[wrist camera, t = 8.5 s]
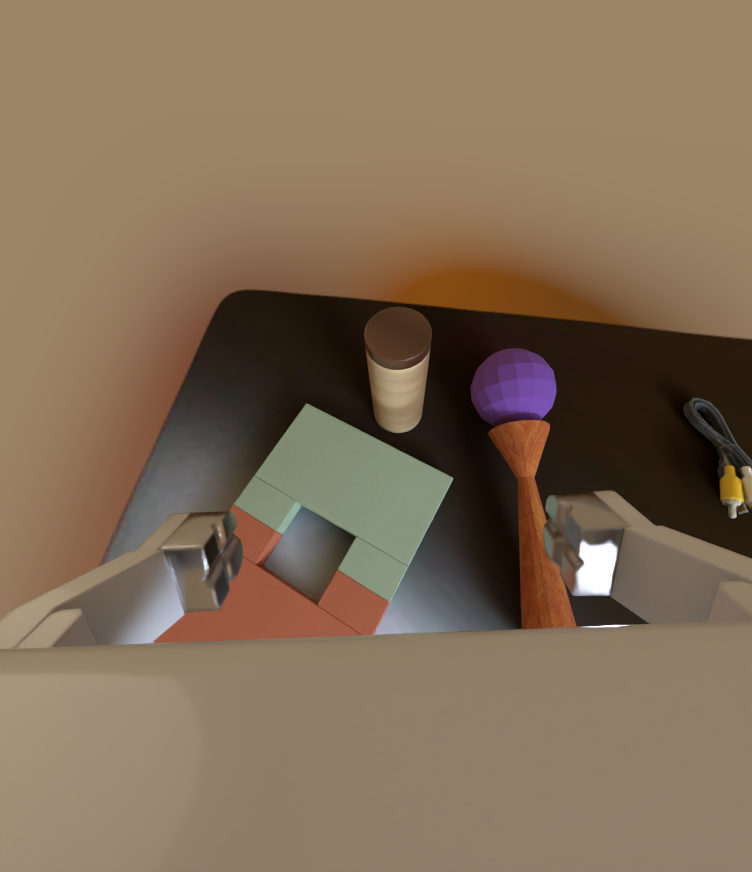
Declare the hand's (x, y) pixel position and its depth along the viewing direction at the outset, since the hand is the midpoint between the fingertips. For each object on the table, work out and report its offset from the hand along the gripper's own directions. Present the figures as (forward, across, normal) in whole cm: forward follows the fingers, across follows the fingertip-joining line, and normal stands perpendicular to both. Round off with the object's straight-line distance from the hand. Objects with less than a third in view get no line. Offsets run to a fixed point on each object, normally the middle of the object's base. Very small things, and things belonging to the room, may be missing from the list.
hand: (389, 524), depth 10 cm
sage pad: (+17, +4, +9) cm, 19 cm away
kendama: (+16, -9, +9) cm, 21 cm away
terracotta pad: (+11, +9, +14) cm, 20 cm away
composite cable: (+18, -25, +8) cm, 32 cm away
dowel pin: (+22, -1, +4) cm, 22 cm away
